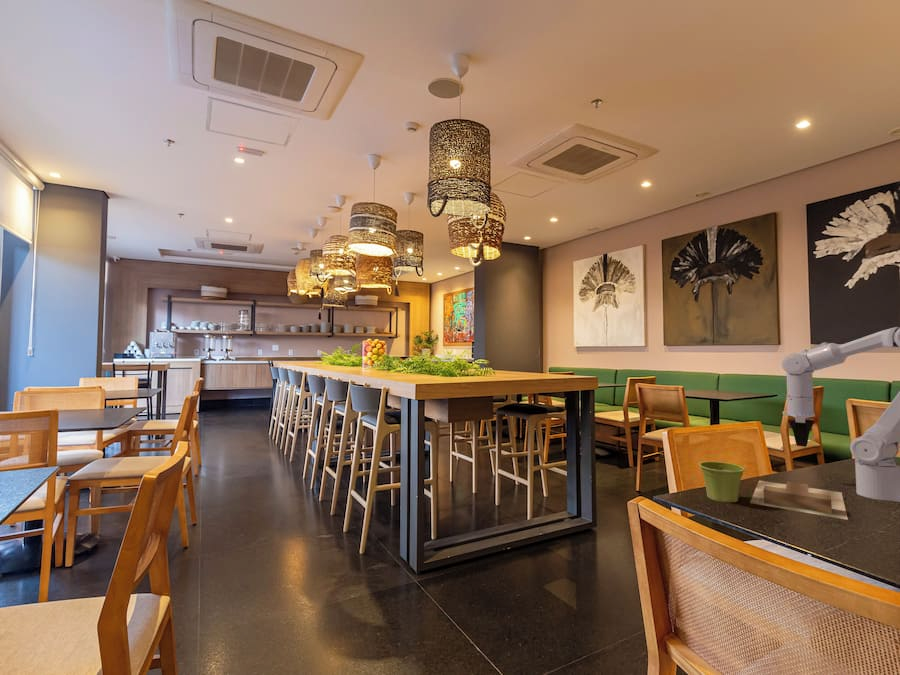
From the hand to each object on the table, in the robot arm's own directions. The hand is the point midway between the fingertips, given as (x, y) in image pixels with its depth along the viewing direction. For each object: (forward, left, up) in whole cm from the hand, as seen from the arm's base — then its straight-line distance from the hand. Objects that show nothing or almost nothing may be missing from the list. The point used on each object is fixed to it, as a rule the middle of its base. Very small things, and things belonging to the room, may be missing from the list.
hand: (801, 445), depth 121 cm
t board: (+1, +20, -10) cm, 23 cm away
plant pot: (+15, +32, -11) cm, 37 cm away
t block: (+1, +25, -9) cm, 27 cm away
